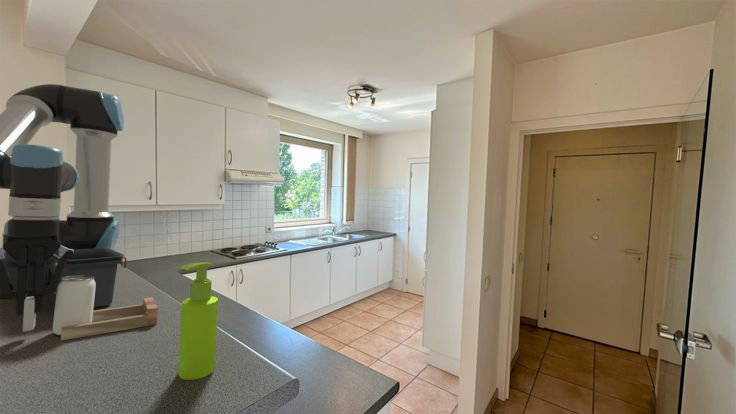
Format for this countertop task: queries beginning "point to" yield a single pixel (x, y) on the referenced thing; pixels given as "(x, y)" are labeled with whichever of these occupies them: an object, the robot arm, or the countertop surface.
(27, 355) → the countertop surface
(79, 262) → the storage bin
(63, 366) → the countertop surface
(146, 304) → the guide lane
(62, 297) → the can
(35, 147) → the robot arm
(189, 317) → the soap dispenser
